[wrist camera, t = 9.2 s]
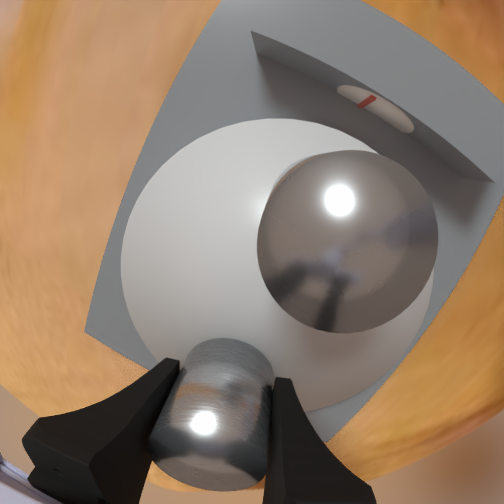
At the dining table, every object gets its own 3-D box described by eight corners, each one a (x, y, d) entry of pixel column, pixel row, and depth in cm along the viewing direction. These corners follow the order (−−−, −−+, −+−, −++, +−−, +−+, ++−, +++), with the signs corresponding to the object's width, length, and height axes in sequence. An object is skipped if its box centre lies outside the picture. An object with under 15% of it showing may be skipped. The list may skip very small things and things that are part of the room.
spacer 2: (391, 179, 10) (462, 196, 6) (351, 278, 12) (390, 351, 7) (289, 138, 10) (295, 119, 6) (252, 242, 12) (231, 301, 7)
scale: (503, 146, 12) (553, 148, 8) (324, 423, 17) (330, 473, 13) (244, -10, 11) (232, -56, 7) (98, 318, 16) (60, 354, 13)
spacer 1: (290, 362, 13) (290, 454, 8) (248, 417, 14) (235, 500, 9) (204, 322, 13) (165, 405, 8) (173, 383, 14) (136, 462, 9)
